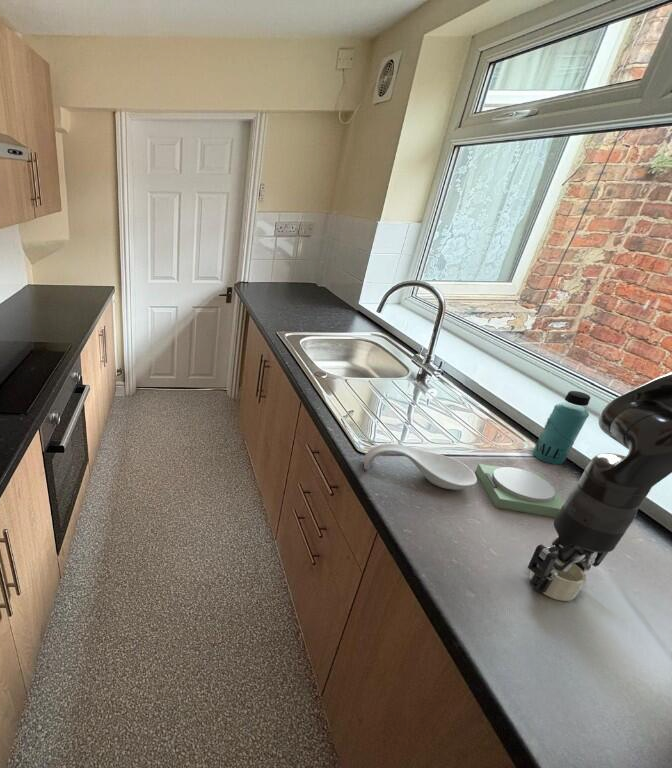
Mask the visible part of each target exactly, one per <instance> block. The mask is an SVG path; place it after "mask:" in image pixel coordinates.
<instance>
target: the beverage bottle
mask: <svg viewBox="0 0 672 768" xmlns="http://www.w3.org/2000/svg"><path fill="white" fill-rule="evenodd" d="M564 400H565V401H564V402H559V403H557V404H555V405H554V406H553V409H552V412H551V413H550V414H549V416H548V418H547V420H546V422H545V423H544V426H543V429H542V431H541V432H540V435H539V436H538V439H537V440H536V442H535V445H534V447H533V448H532V453H533V456H535V457H536V458H537V459H538V460H539V461H542V462H544V463H548V464H553V465H562V464H563V463H565V462H566V461H567V457H568V456H569V454H570V452H571V450H572V449H573V446H574V445H575V441H576V440H577V438H578V436H579V434H580V432H581V430H582V428H583V426H584V424H586V421H587V419H588V418H589V417H590V413H589V411H588V410H587V409H586V408H585V406H588V405H589V403H590V400H591V396H590V395H589V394H587V393H585V392H582V391H577V390H570V391H569V392H567V394H566V395H565V397H564Z"/></svg>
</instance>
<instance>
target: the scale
mask: <svg viewBox="0 0 672 768" xmlns="http://www.w3.org/2000/svg"><path fill="white" fill-rule="evenodd" d="M474 473H475V475H476V476H477V477H478V479H479V480H480V482H481V484H482V486H483V487H484V490H485V491H486V492H487V494H488V496H489V498H490V500H491V501H492V504H493V505H494V507H495V508H497V509H503V510H508V511H516V512H520V513H527V514H532V515H539V516H543V517H551V518H554V519H555V518H556V516H557V515H558V513H559V511H560V509H561V507H562V506H563V504H564V502H565V500H563V498H562V497H561V496H560V494H559V493H558V492H557V491H556V489H555V488H554V487H553V486H552V485H551V483H550V482H549V480H548V479H547V478H546V476H545V475H544V474H543V473H542V472H537V471H530V470H525V469H521V468H518V467H510V466H497V465H489V464H484V463H483V464H482V463H477V466H476V469H475V472H474Z"/></svg>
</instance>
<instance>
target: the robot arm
mask: <svg viewBox="0 0 672 768" xmlns="http://www.w3.org/2000/svg"><path fill="white" fill-rule="evenodd" d="M598 426H599V429H600V430H601V431H602V433H604V434H605V435H607V436H608V437H610V438H611V439H612V440H614V441H616V442H617V443H619V444H620V445H621V446H623V447H624V448H626V449H627V450H628V453H627V455H626V456H625V455H622V454H618V453H611V452H604V453H603V452H602V453H599V454H597V455H594V457H592V458H591V459H590V461H589V462H588V464H587V465H586V467H585V469H584V470H583V473H582V475H581V476H580V478H579V480H578V481H577V482H576V484H575V486H574V487H573V488H572V489H571V490H570V492H569V493H568V494H567V497H566V498H565V500H564V504H563V506H562V507H561V509H560V511H559V513H558V515H557V516H556V518H555V517H554V520H553V522H552V523H553V528H554V530H555V532H556V534H557V537H555V538H554V539H553V541H551V545H550V546H549V547H547V546H545V545H544V544H543V543H541V544H538V545H537V546H536V548H535V550H534V552H533V555H532V557H531V559H530V560H529V564H528V565H527V569H528V570H530V572H531V571H532V572H533V573H535V574H534V576H533V577H532V579H531V580H530V581H529V584H530V585H529V586H531V587H532V588H533V589H535V590H536V591H537V592H538V593H540V594H543V593H544V592H546V590H547V589H548V587H549V585H550V584H551V582H552V580H553V579H554V578H555V577H556V576H557V575H558V574H559V573H560V572H567V571H568V570H569V569H570V568H571V567H572V566H573V565H574V564H576V565H577V566H578V567H580V568H581V569H582V570H583V572H584V573H585V572H588V571H590V570H591V568H592V566H593V567H595V568H596V567H598V566H599V565H601V563H602V561H603V560H604V559H605V558H606V556H607V555H608V554H609V553H610V552H613V551H614V549H616V547H617V545H618V544H619V542H620V541H621V539H622V538H623V536H624V535H625V533H626V532H627V531H628V529H629V527H630V526H631V525H632V523H633V522H634V520H635V518H636V516H637V514H638V510H639V508H640V507H641V506H642V504H643V502H644V501H645V499H646V498H647V496H648V494H649V493H650V492H651V490H652V488H653V487H654V486H655V485H657V484H659V482H662V480H663V479H665V478H667V477H668V476H669V475H671V474H672V371H670V372H668V373H665V374H663V375H661V376H658V377H656V378H654V379H652V380H650V381H648V382H646V383H644V384H642V385H639V386H638V387H635V388H633V389H631V390H629V391H627V392H625V393H623V394H621V395H619V396H617V397H616V398H614V399H613V400H611V401H610V402H608V403H607V404H606V406H605V407H604V408H603V409H602V410H601V412H600V414H599V416H598ZM557 559H558V560H560V561H561V562H562V563H565V564H564V565H562V566H561V565H560V564H559V563H557ZM552 567H554V569H553V570H552V571H551V569H552ZM550 571H551V572H550Z"/></svg>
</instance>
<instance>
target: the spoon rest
mask: <svg viewBox="0 0 672 768" xmlns="http://www.w3.org/2000/svg"><path fill="white" fill-rule="evenodd" d="M384 454H399V455H401V456H404V457H406V458H407V459H409V460H410V461H411V462H412V463H413V464H414V465H415V467H416V468H417V469H418V471H419V472H420V473H421V475H423V477H424V478H426V479H427V481H428V482H430V483H431V484H433V485H434V486H437V487H438V488H442V489H447V490H455V491H456V490H457V491H458V490H460V491H461V490H465V489H469V488H472V487H473V486H474V485H476V484H477V482H478V481H477V480H478V479H477V474H476V473H475V472H474V471H473V470H472V469H471V468H470V467H469V466H468V465H466V464H465V463H463V462H461V461H459V460H457V459H455V458H452V457H450V456H447V455H445V454H441V453H436V452H432V451H428V450H424V449H420V448H416V447H413V446H409V445H406V444H405V445H404V444H399V443H383V444H378V445H376V446H375V445H374V447H371V448H370V449H369V450H368V451H367V452H366V453H365V454H364V457H363V468H364V470H365V471H368V470H369V469H370V467H371V465H372V463H373V461H374V460H375V459H376V458H377V457H379V456H381V455H384Z"/></svg>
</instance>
